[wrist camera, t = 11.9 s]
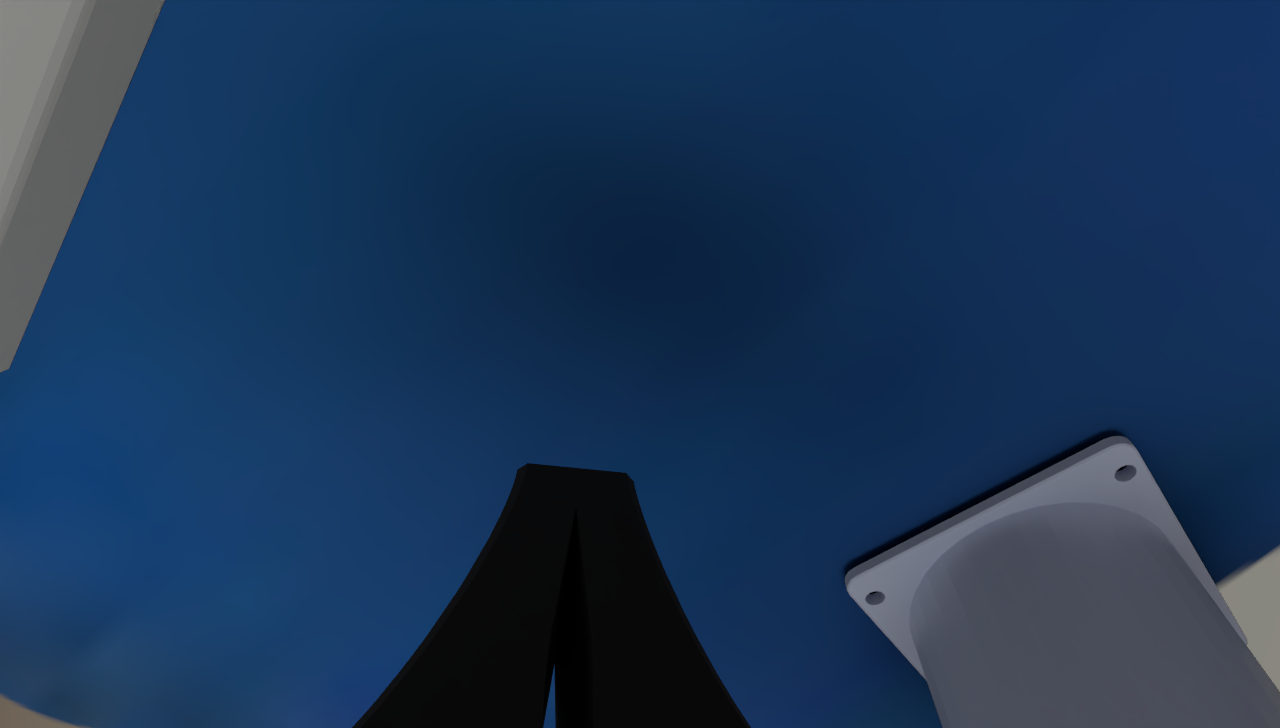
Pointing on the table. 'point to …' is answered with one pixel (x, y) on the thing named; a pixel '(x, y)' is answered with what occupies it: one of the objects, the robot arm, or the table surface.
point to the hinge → (55, 129)
